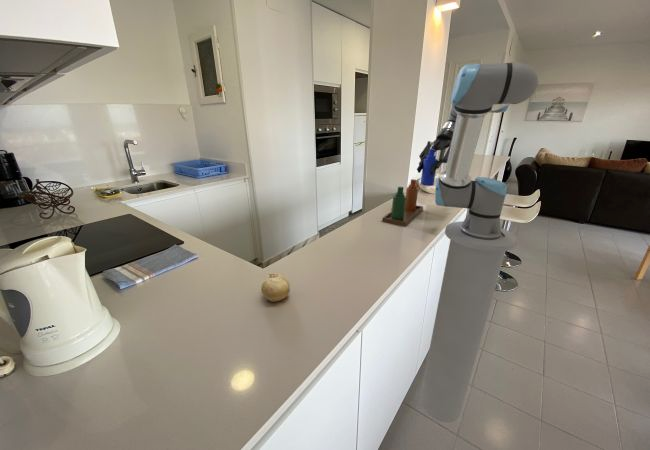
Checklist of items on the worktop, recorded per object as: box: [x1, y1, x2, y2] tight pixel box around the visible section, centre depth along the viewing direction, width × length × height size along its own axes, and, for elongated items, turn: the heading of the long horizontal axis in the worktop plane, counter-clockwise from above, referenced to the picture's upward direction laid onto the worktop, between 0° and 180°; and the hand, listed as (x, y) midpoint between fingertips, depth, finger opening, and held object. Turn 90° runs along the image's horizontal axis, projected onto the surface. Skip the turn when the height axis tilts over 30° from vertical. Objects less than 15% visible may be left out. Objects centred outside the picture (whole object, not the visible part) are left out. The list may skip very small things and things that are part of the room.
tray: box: [381, 204, 424, 227], centre depth 144 cm, size 12×30×2 cm, turn 146°
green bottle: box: [391, 186, 406, 221], centre depth 133 cm, size 6×6×16 cm
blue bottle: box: [420, 148, 438, 187], centre depth 130 cm, size 6×6×16 cm
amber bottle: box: [405, 178, 419, 211], centre depth 149 cm, size 6×6×16 cm
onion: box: [260, 272, 291, 303], centre depth 77 cm, size 8×8×7 cm
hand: (424, 172), depth 129 cm, fingers closed on blue bottle, 6 cm apart
